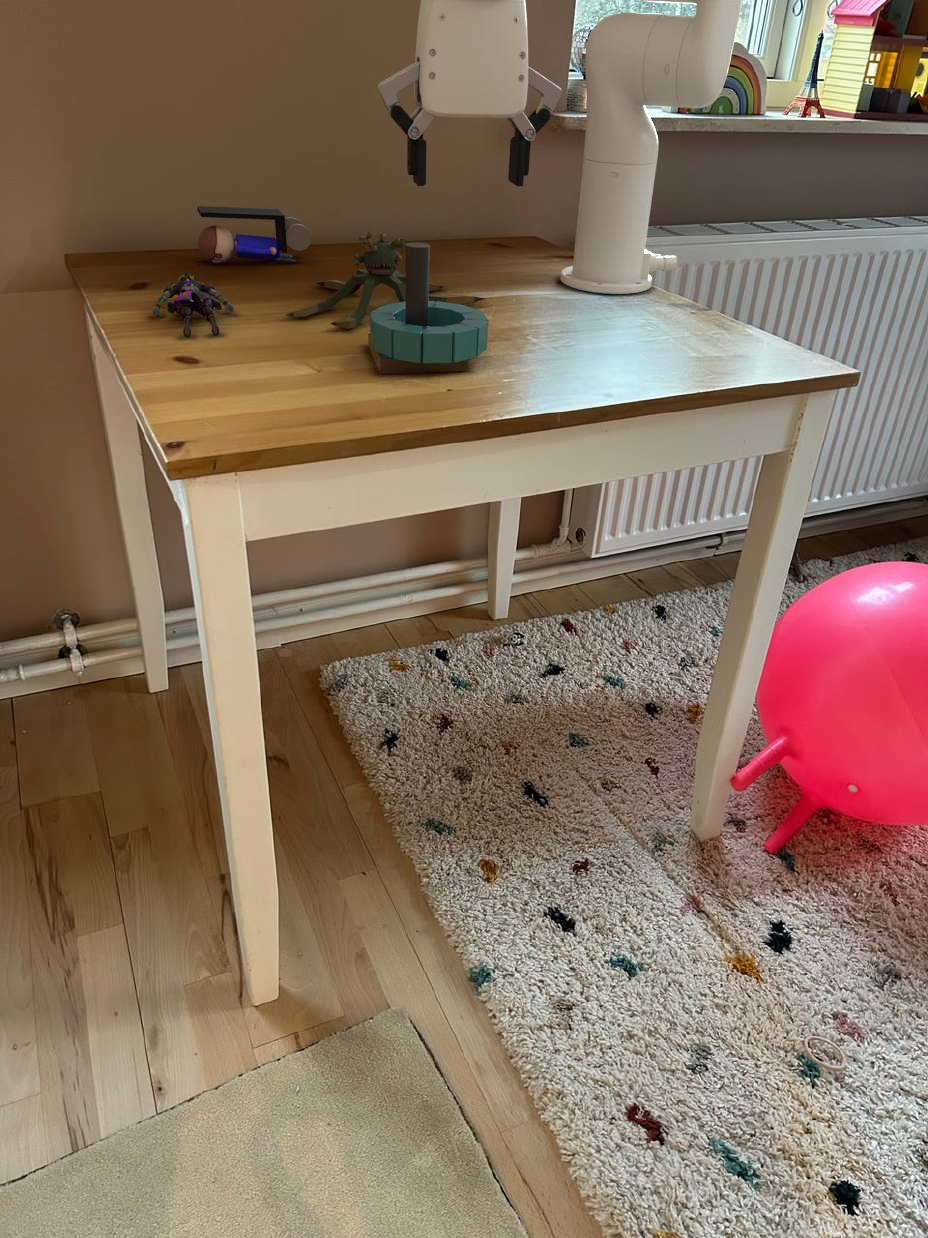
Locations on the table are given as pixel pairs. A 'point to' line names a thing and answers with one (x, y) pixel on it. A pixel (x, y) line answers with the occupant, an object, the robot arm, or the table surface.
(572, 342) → the table surface
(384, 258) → the octopus toy
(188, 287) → the character figure
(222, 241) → the figurine character
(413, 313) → the stand
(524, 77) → the robot arm
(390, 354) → the ring
